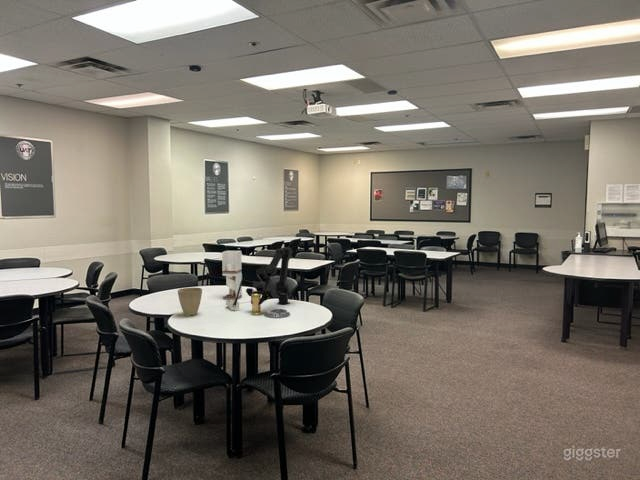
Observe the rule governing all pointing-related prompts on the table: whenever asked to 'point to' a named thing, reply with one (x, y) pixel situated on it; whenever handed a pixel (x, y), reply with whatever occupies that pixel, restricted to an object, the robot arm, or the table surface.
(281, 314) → the flange
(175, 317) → the table surface
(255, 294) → the gold flared cylinder
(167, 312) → the table surface
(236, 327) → the table surface
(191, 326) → the table surface
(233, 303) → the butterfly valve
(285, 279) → the robot arm
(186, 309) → the plant pot
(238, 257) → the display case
